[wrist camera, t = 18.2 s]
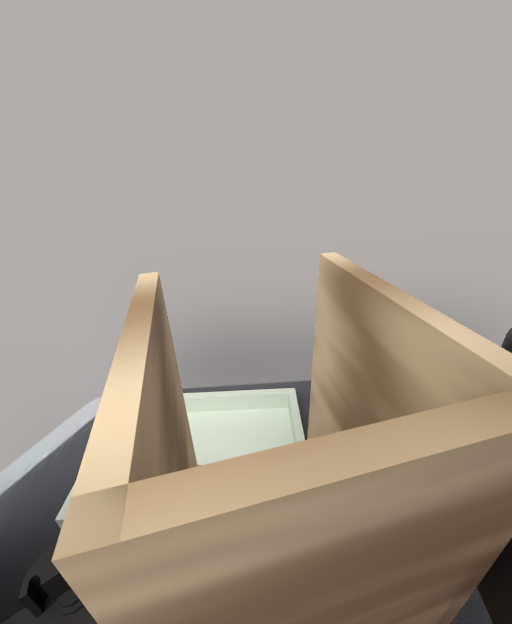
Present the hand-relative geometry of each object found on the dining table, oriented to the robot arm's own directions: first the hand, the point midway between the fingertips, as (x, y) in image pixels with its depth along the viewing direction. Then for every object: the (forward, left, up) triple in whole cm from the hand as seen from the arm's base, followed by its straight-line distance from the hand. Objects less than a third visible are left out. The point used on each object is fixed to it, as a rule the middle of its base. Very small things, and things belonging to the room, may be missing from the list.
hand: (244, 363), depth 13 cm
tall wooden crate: (-2, +4, -7) cm, 8 cm away
